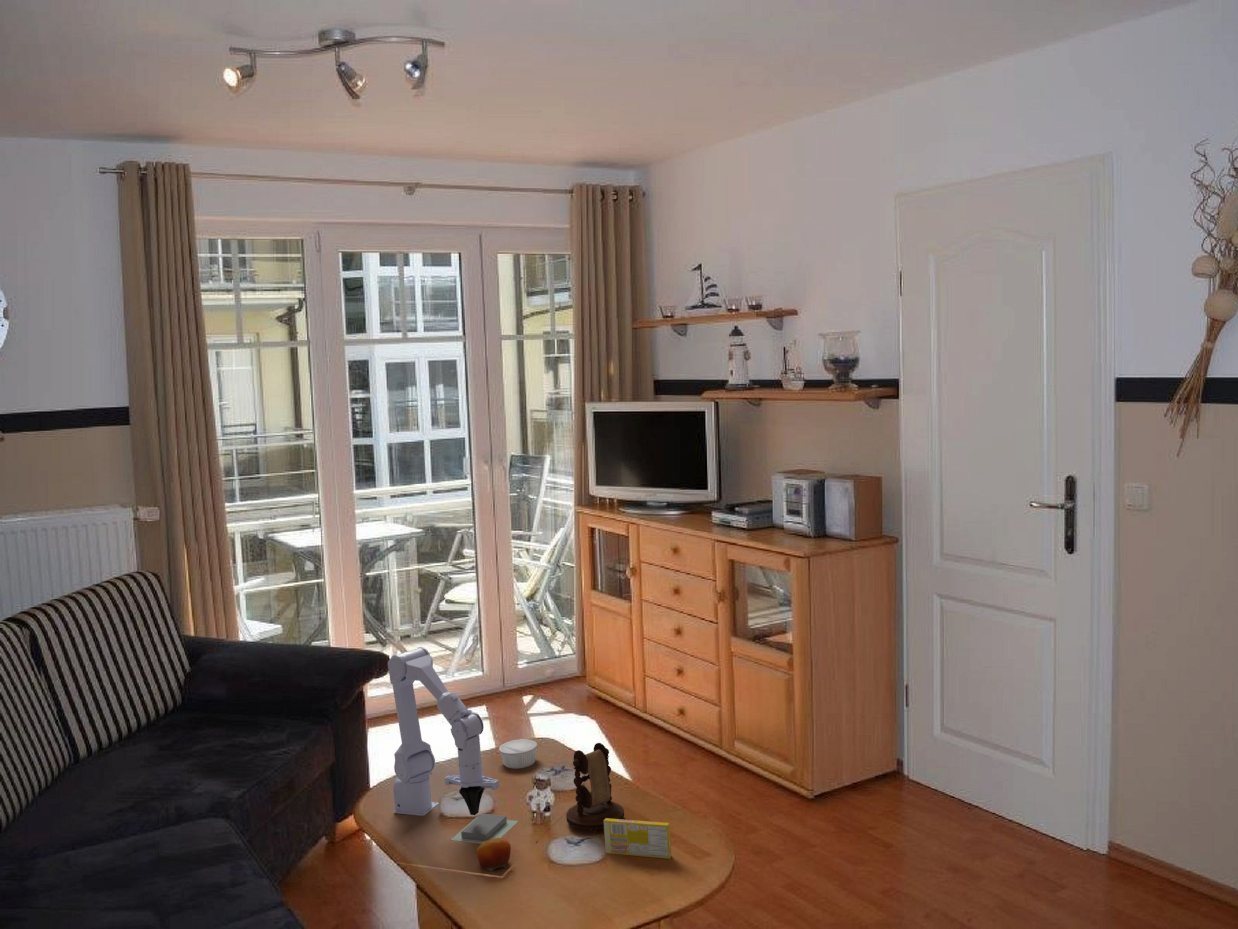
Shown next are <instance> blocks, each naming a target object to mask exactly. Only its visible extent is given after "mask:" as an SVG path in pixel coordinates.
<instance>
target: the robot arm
mask: <svg viewBox="0 0 1238 929" xmlns="http://www.w3.org/2000/svg"><path fill="white" fill-rule="evenodd" d="M433 664H434V663H433V657H432V655H431V654H430V652H429V651H428V650H427V648H425V647H424V646H418V647H417V648H413V649H411V650H408V651H404V652H401V653H398V654H394V655H391V657H390V658H389V660H388V661H387V669H388V676H389V681H390V684H391V685H392V691H393V697H394V702H395V703H394V704H395V708H396V709H395V710H396V715H397V722H398V726H399V734H400V739H401V744H400V745H399V747H398V748H397V750H396V751H395V753H394V755H393V756H394V765H393V768H394V774H395V776H396V777H397V778H396V779H395V781H394V783H393V799H394V800H393V801H394V811H393V813H394V814H400V815H407V816H408V815H409V816H411V815H412V816H421V817H424V816H426V814H428V813H429V812H431V811H432V810H434V808H436V807H437V806H438V805H439V802H435V801H433V799H432V789H431V778H430V776H431V775H432V774H433V773H432V772H433V770H434V769H435V767H436V760H435V759H436V758H435V755H434V754H433V751H432V746H431V744H430V743H428V742H426V741H424V740H423V739H422V732H421V726H420V719H419V715H418V707H417V701H416V695H415V689H414V683H415V681H419V682H421V684H422V685H423V687H425V689H426V690H427V691H429V693H430V694H431V695H432V696H433V697H434V698H435V699H436V701H437V702H436V703H437V705H436V707H437V710H439V712H440V713H441V715H442V716H443V717H444V719H445V720H446V721H447V722H448V723H449V725H450V726H451V728H450V734H451V736H452V738H453V740H454V745H455V747H456V748H457V756H458V757H457V758H458V769H459V771H458V772H459V774H458V775H457V774H453V775H452V774H448V775H447V776H445V777H444V784H445V786H451V785H454V786H460V789H458V793H459V795H460V796H461V797H462V798H463V801H464V802H465V804H466V806H467V808H468V811H469V814H470V816H476V815H478V813H479V811H480V804H481V800H482V796H483V794H484V791H485V789H491V790H492V791H496V790H497V789H499V788H500V780H499V779H495V778H491V777H488V776H486V775H483V774H484V773H483V766H482V764H483V763H482V752H481V742H480V740H481V739H480V735H481V734H482V733H483V731H484V721H483V720H482V717H481V716H480V714H479V713H477V712H475V711H472V710H471V709H468V708H467V706H466V705H465V704H464V702H463V701H462V700H461V699H460V697H459V696H458V695H457V693H456V692H452V691H449V690H448V688H447V686H445V684H444V682H443V681H442V680H441V678H440V676H439V674H438V673H437V672H436V669H434V666H433Z"/></svg>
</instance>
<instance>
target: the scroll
mask: <svg viewBox="0 0 1238 929" xmlns="http://www.w3.org/2000/svg"><path fill="white" fill-rule="evenodd" d="M609 754H610V750H609V749H608V748H606V746H605V744H602V743H601V742H596V743H595V744H594V746H593V751H591V752H588V753H585V752H583V751H582V750H575V751H574V753H573V761H572V765H573V769H574V778H573V784H574V786H575V787H576V788H575V794H576V796H575V802H576V804H575V805H574V806H572V807H571V808H569V809H568V810H567V811H566V818H565V819H566V822H567V823H568V824H569V825H571V826H572V827H573V828H576V829H581V830H590V831H591V834H592V835H594V834H595V833H596V830H600V829H601V830H602V829H604V820H605V819H606V818H609V819H622V820H625V819H624V818H625V809H624V808H623V805H621V804H619V803H617V802H614V801H612V800H613V797H612V784H611V783H610V782H611V778H610V774H611V771H612V768H611V766H610V762H609ZM581 774H582V775H583V776H581ZM588 780H589V783H590V790H589V788H588V787H586V786H585V785H582V784H583V783H585V782H588Z"/></svg>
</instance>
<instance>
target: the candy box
mask: <svg viewBox="0 0 1238 929" xmlns="http://www.w3.org/2000/svg"><path fill="white" fill-rule="evenodd" d="M603 833H604V834H603V835H604V848H605V849H604V850H605V851H604V852H605V854H609V855H611V854H612V855H619V856H620V855H622V856H635V857H642V858H643V857H644V858H653V859H655V858H656V859H665V860H671V857H672V856H673V855H672V843H671V825H670V822H662V821H661V822H660V821H647V820H633V819H623V820H622V819H609V818H606V819H605V820H604V828H603Z"/></svg>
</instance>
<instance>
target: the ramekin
mask: <svg viewBox="0 0 1238 929" xmlns="http://www.w3.org/2000/svg"><path fill="white" fill-rule="evenodd" d="M537 749H538V743H537V742H536V741H534V740H532V739H526V738H525V739H524V738H520V739H513V740H509V741H506V742H505V743H503V744H501V745H500V746H499V748H498V752H499V754H500V757H501V760H502V764H503V766H505V767H506V768H508V769H515V770H516V769H517V770H518V769H519V770H520V769H525V768H528V767H531V766H532V765H534V764H535V762H536V760H537V759H536V758H537Z"/></svg>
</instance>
